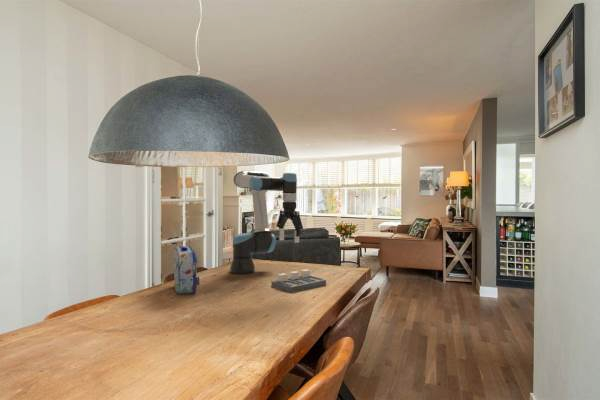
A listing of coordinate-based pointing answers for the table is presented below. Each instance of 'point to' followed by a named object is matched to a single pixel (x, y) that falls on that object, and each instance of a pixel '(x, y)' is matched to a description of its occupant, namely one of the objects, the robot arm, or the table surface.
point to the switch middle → (294, 275)
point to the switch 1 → (282, 277)
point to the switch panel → (299, 283)
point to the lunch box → (185, 270)
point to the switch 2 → (305, 273)
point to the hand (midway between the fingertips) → (289, 241)
